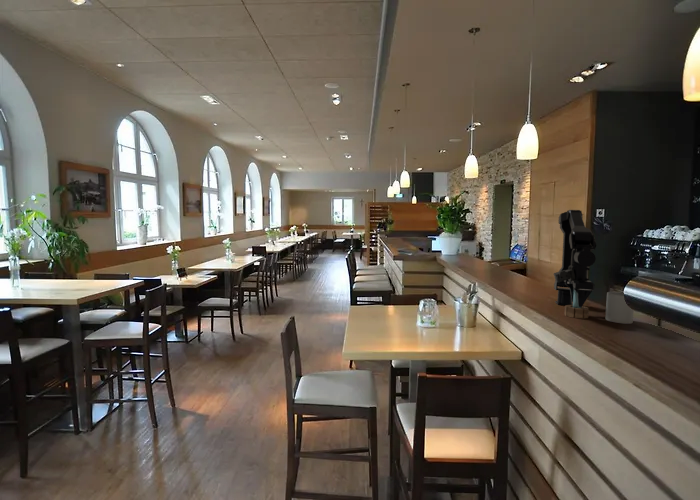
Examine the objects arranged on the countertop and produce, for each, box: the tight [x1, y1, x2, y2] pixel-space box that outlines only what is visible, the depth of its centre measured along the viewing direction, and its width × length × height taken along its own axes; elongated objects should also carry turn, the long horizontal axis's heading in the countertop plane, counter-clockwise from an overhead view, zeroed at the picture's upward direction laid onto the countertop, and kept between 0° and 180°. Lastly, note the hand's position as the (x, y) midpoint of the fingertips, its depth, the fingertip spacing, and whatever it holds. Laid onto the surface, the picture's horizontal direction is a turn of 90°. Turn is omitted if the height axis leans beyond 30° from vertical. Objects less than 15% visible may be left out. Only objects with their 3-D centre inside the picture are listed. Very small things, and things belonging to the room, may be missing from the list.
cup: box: [604, 291, 635, 324], centre depth 150 cm, size 8×8×10 cm
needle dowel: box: [572, 290, 581, 308], centre depth 155 cm, size 3×3×10 cm
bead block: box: [564, 305, 590, 319], centre depth 156 cm, size 8×8×4 cm
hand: (576, 304), depth 155 cm, fingers open, 9 cm apart
